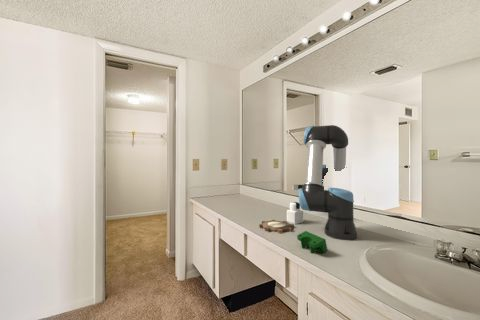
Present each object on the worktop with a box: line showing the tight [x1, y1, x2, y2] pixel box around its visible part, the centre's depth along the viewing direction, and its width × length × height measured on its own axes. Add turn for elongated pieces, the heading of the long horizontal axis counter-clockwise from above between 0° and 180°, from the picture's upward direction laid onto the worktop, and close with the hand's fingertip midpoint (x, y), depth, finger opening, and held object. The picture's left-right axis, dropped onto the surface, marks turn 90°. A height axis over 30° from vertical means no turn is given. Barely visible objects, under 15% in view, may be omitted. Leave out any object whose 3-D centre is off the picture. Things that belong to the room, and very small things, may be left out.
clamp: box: [296, 230, 328, 254], centre depth 88 cm, size 12×6×9 cm, turn 20°
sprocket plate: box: [258, 219, 295, 234], centre depth 118 cm, size 19×19×2 cm
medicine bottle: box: [286, 201, 304, 225], centre depth 129 cm, size 7×7×12 cm
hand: (302, 189), depth 136 cm, fingers open, 13 cm apart
